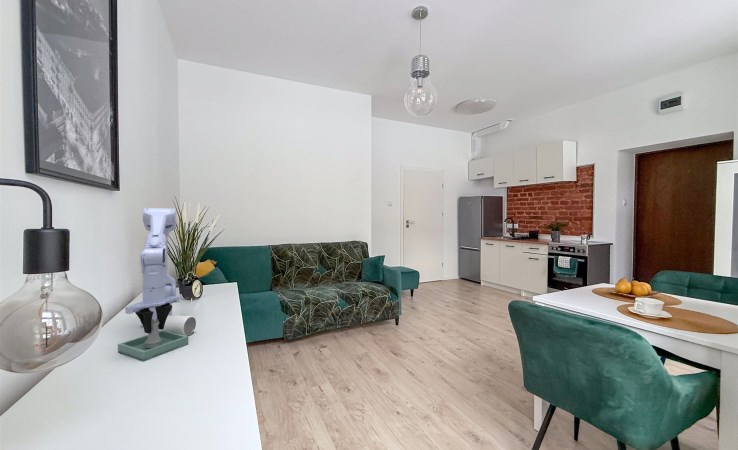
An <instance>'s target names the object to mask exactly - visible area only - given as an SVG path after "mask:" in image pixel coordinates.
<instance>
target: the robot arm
mask: <svg viewBox="0 0 738 450" xmlns="http://www.w3.org/2000/svg"><path fill="white" fill-rule="evenodd" d="M176 213H177V211H176V208H173V207H171V208H166V207H165V208H164V207H161V208H160V207H144V208H143V209H142V222H143V225H144V228H145V230H146V231H148V232H149V233H148V234H146V235H145V240H144V246H143V250H142V249H141V250H140V255H139V260H140V261H139V262H140V267H141V269H140V270H141V274H142V301H140V302H137V303H134V304H131V305H128V306H125V310H124V312H125V313H124V314H127V315H131V314H134V313H135V315H136V316H137V317H138V319H139V321H140V323H141V324H140V327H142V328H143V331H144V333H145V334H147V335H148V334H149V333H151V322H152V319H154V320H155V319H156V318H157V319H159V322H160V323H159V325H158V327H159V328H158V329H161V330H162V329H164V325H165V322H166V319H167V317H168V316H173V304H174V303H175V304H177V303H179V302H180V296H179V295H177V283H176V281H177V280H176V279H175V278H174V277H173V276H171V275H169V274H168V237H169V234H170V232H173V231H175V230H176V226H177V225H176V223H177V221H176V219H177V214H176Z"/></svg>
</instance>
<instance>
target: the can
mask: <svg viewBox="0 0 738 450" xmlns="http://www.w3.org/2000/svg"><path fill="white" fill-rule="evenodd" d="M156 319H157V318H156ZM154 321H155V320H154ZM196 325H197V321H196V318H195V317H194V316H192V315H172V316H168V317H167V319H166V322H165V325H164V329H162V330H165V331H169V332H173V333H177V334H181V335H185V336H188V337H189V336H190V335H192V334H193V332H194V331H195V330H196ZM162 330H161V329H158V331H162Z"/></svg>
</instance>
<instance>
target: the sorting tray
mask: <svg viewBox="0 0 738 450" xmlns="http://www.w3.org/2000/svg"><path fill="white" fill-rule="evenodd" d="M158 333H159V336H160V338H161V340H162V341H161V343H162V344H161V345H160V346H157V347H155V348H151V349H147V348H145V347H144V346H145V345H146V344H145V341H146V339H147V337H148V334H146V335H143V336H140V337H136V338H133V339H129V340H127V341H125V342H124V341H123V342H120V343H117V353H119V354H121V355H123V356H127V357H130V358H133V359H136V360H139V361H142V362H146V361H148V360H151V359H154V358H156V357H159V356H161V355H164V354H168V353H169V352H172V351H174V350H178V349H179V348H182V347H184V346H188V345H189V335H188V336H185V335H181V334H177V333H173V332H169V331H165V330H162V331H158Z"/></svg>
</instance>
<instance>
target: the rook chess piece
mask: <svg viewBox="0 0 738 450" xmlns="http://www.w3.org/2000/svg"><path fill="white" fill-rule="evenodd" d="M159 323H160V322H159V319H155V321H154V319H152V322H151V333H149V334H148V333H147V335H148V337H147V339H146V341H145V344H146V345H145V346H144V347H145V348H147V349H151V348H155V347H157V346H160V345H161V344H162V343H161V341H162V340H161V338H160V336H159V333H158V328H159V327H158V325H159Z"/></svg>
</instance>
